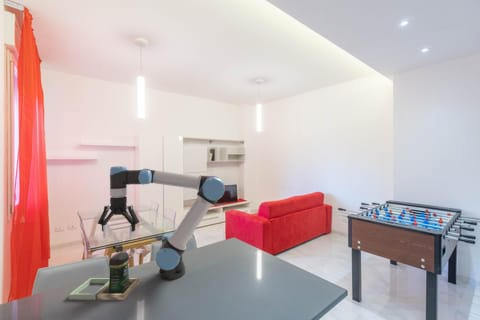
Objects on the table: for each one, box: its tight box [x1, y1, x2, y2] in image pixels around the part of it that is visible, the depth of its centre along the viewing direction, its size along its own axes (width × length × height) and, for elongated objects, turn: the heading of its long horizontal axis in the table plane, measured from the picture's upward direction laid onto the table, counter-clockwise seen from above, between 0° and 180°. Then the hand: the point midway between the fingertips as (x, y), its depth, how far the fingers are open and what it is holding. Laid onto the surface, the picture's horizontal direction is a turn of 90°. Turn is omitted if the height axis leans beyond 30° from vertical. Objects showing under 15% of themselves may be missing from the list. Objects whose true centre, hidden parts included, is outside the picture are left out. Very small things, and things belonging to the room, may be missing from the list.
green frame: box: [68, 277, 110, 301], centre depth 116 cm, size 13×15×2 cm
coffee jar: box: [108, 251, 130, 294], centre depth 115 cm, size 10×8×19 cm
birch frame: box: [96, 277, 140, 301], centre depth 115 cm, size 13×15×2 cm
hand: (118, 237), depth 115 cm, fingers open, 13 cm apart
